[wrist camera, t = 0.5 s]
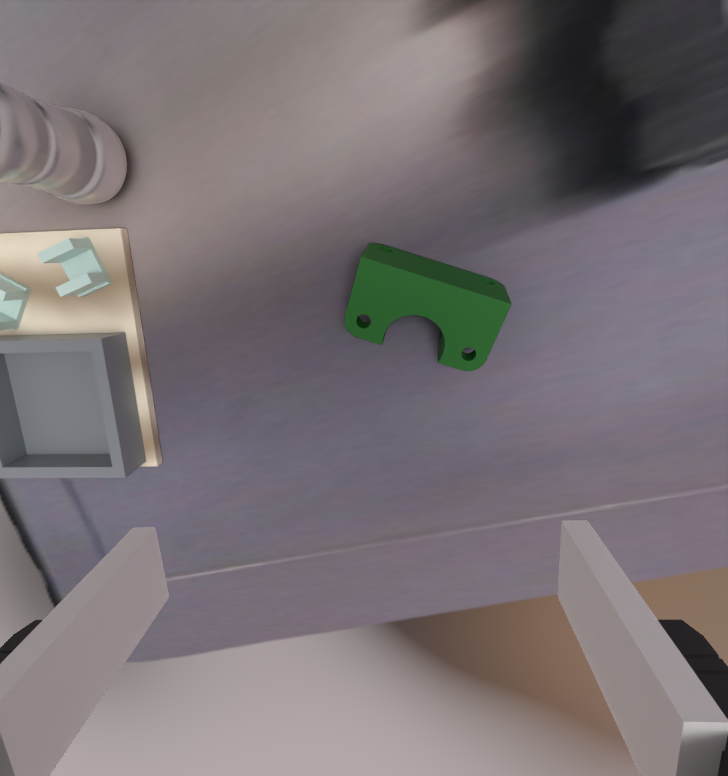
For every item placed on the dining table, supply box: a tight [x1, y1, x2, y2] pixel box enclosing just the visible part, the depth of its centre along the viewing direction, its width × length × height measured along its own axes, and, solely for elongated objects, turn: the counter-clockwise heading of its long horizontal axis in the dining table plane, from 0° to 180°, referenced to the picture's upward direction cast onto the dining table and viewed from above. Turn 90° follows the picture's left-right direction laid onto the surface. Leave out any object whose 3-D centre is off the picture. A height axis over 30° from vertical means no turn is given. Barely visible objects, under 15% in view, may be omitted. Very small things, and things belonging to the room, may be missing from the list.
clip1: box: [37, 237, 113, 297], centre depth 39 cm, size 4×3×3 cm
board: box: [0, 228, 163, 466], centre depth 43 cm, size 21×14×1 cm, turn 2°
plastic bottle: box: [0, 82, 127, 205], centre depth 29 cm, size 6×7×20 cm
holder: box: [0, 332, 146, 478], centre depth 42 cm, size 12×12×4 cm
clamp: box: [345, 243, 511, 371], centre depth 37 cm, size 12×6×9 cm, turn 67°
